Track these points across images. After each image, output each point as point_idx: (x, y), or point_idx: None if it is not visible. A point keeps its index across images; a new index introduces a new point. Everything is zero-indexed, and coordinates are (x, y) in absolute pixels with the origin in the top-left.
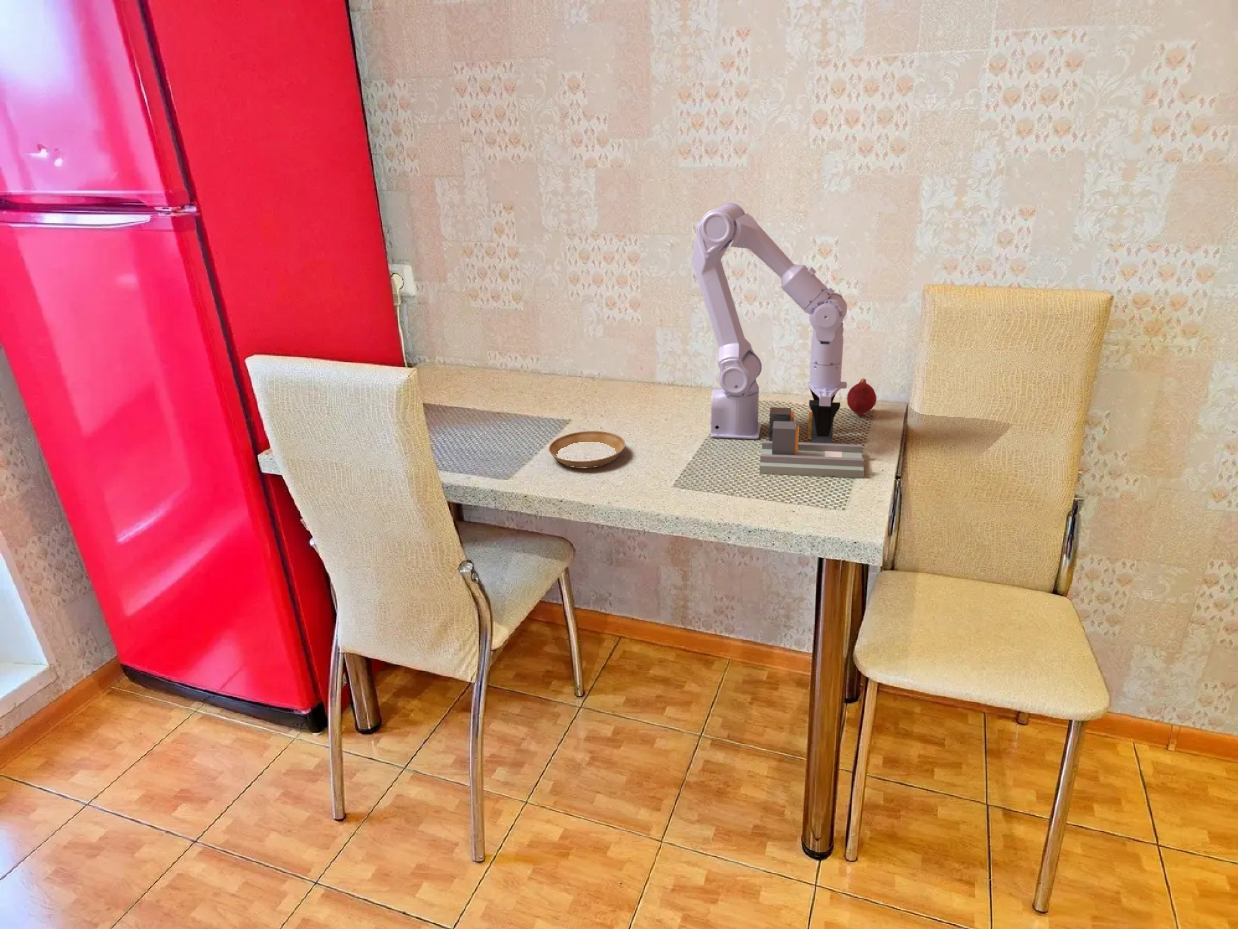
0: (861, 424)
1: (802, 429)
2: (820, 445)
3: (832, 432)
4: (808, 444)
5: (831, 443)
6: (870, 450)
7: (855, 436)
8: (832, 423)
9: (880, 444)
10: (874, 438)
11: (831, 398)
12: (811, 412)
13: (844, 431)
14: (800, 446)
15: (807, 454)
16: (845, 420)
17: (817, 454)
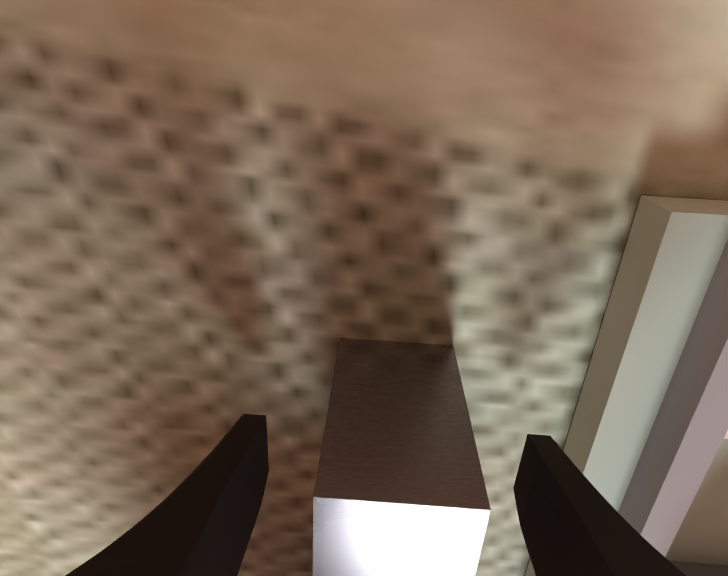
0: (62, 120)
1: None
2: (698, 487)
3: (463, 400)
4: (667, 540)
5: (454, 354)
6: (570, 109)
7: (306, 190)
8: (475, 456)
9: (458, 7)
10: (333, 45)
11: (189, 574)
12: None
13: (225, 254)
14: None
15: (704, 513)
16: (21, 228)
17: (719, 471)
